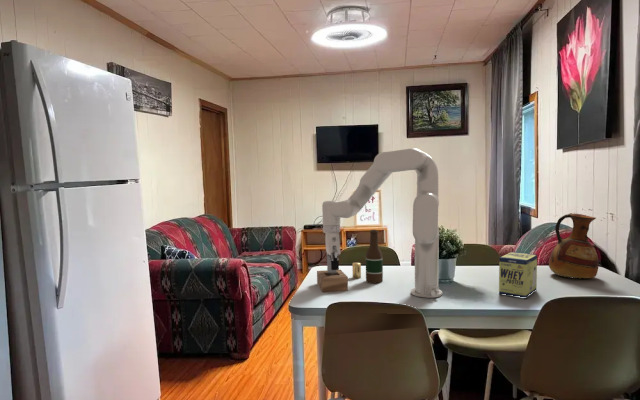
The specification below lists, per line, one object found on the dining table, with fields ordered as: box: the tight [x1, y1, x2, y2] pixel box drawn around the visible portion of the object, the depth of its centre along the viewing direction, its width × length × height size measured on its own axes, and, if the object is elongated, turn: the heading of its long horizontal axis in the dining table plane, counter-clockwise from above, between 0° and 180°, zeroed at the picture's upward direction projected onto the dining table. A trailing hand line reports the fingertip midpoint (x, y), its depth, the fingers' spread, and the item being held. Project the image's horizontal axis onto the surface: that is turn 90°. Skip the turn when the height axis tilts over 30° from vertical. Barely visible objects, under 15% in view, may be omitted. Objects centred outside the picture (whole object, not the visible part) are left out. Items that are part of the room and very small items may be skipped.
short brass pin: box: [351, 262, 362, 280], centre depth 206 cm, size 4×4×7 cm
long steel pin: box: [326, 255, 336, 276], centre depth 189 cm, size 4×4×14 cm
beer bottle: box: [365, 229, 384, 284], centre depth 197 cm, size 8×8×24 cm
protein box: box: [498, 251, 538, 297], centre depth 176 cm, size 10×16×16 cm
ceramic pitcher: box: [548, 212, 599, 279], centre depth 200 cm, size 20×20×30 cm
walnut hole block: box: [316, 269, 349, 293], centre depth 189 cm, size 14×11×6 cm
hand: (332, 267), depth 189 cm, fingers open, 9 cm apart
